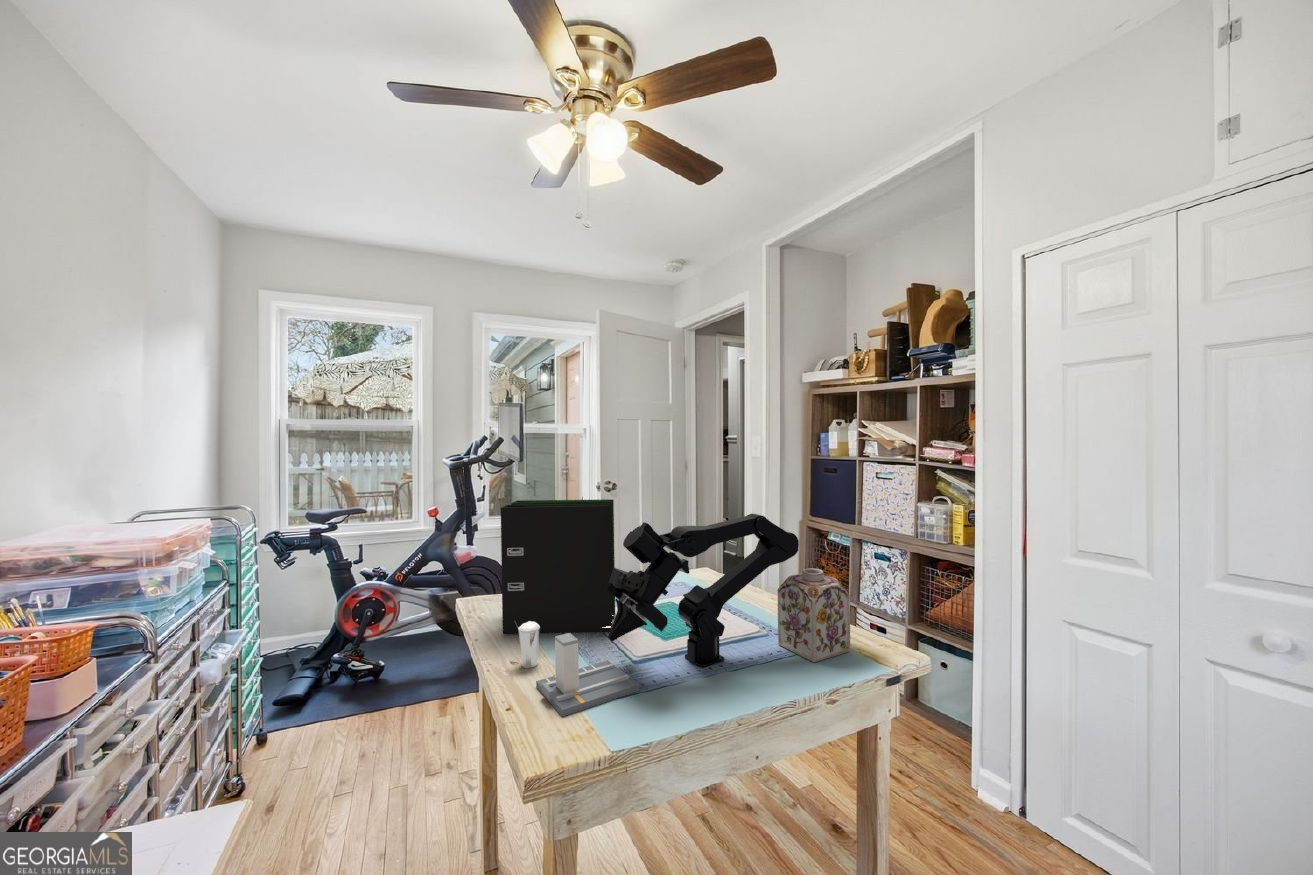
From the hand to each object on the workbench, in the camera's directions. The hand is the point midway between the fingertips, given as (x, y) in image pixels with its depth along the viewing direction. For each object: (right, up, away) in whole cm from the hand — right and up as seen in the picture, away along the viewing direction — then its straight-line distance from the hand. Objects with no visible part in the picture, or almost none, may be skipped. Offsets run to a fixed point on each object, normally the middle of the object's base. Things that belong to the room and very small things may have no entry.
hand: (609, 639), depth 103 cm
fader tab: (-8, -7, -5) cm, 12 cm away
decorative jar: (+46, -8, +14) cm, 48 cm away
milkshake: (-19, -9, +8) cm, 22 cm away
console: (-4, -8, -3) cm, 10 cm away
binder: (-16, -9, +32) cm, 37 cm away
